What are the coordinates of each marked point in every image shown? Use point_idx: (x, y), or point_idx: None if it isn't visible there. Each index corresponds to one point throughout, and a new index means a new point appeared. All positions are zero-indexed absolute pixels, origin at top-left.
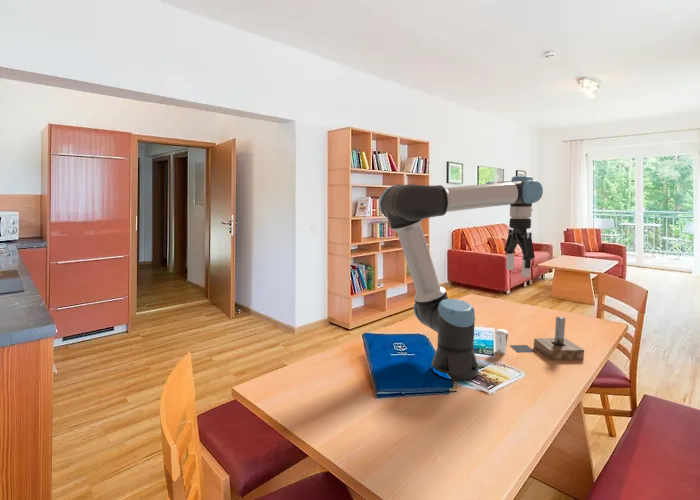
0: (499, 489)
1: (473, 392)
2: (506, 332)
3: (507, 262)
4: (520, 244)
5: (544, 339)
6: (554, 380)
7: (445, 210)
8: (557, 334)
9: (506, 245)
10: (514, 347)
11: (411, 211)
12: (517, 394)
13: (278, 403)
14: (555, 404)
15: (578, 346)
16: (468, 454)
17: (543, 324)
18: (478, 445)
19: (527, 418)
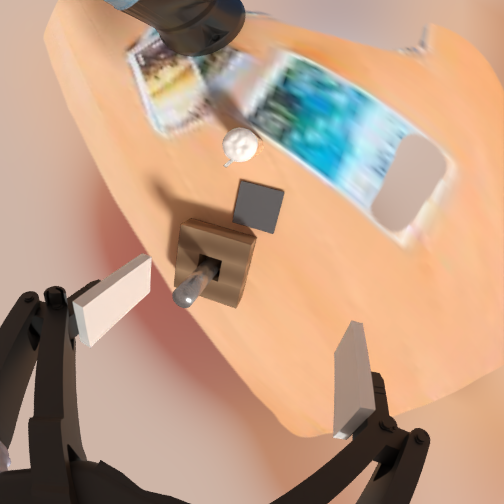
0: (45, 34)
1: (135, 33)
2: (224, 149)
3: (354, 355)
4: (53, 413)
5: (238, 261)
6: (131, 169)
7: None
8: (195, 270)
9: (402, 474)
10: (268, 195)
11: None
12: (114, 89)
13: None
14: (87, 126)
15: None
16: (69, 17)
17: None
18: (71, 25)
19: (79, 79)
